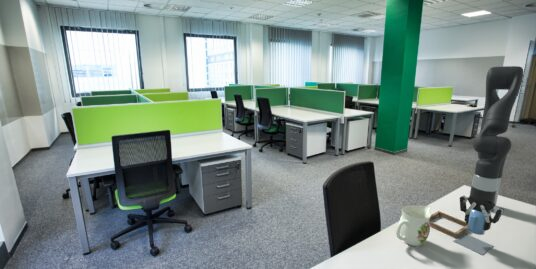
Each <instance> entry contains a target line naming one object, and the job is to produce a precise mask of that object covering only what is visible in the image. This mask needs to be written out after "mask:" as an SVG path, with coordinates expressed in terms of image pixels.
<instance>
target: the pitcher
mask: <svg viewBox="0 0 536 269" xmlns="http://www.w3.org/2000/svg"><path fill="white" fill-rule="evenodd" d="M431 215H432V213H431V206H429V205H406V206H405V205H404V206H402V208H401V216H400V218H399V221H398V222H399V223H398V224H397V226H396V231H395V233H396V234H395V236H396V237H397V239H398V240H400V241H404V243H405V244H407V245H410V246H413V247H420V246H422V245H423V244H424V243H425V242H426V241H427V239H428V237H429V236H430V232H431V227H430V223H429V219H430V217H431Z"/></svg>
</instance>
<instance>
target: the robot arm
mask: <svg viewBox="0 0 536 269" xmlns="http://www.w3.org/2000/svg"><path fill="white" fill-rule="evenodd" d="M485 79H486V80H485V99H484V100H485V102H484V106H483V107H484V108H483V113H482V120H481V130H480V132H479V133H478V135H477V136H476V137H475V139H474V141H473V142H472V143H473V144H472V146H473V149H474V151H475V152H477V158H478V159H477V161H476V163H475V168H474V173H473V174H474V175H473V176H472V181H471V186H470V192H469V196H466V195H462V196H460V197H459V210H460V211H461V212H463V213H464V214H465V216H464V220H463V221H464V222H466V223H467V224H468V221H469V215H470V211H471V209H475V210H478V211H480V212H483V213H484V217H485V220H486V222H485V225H484V230H485V232H486V231H489V230H490V229H491V226H492V224H496V223H498V222H499V220H500V218H501V217H502V215H503V213H504V211H505V210H504V208H502V207H498V206H497V202H498V197H499V192H500V188H501V182H502V178H503V171H504V166H505V163H506V160H507V156H508V154H509V152H510V151H511V148H512V142H511V140H510V138H508V137H507V136H501V135H502V134H505V133H506V132H507V131H508V129H509V124H510V118H511V114H512V110H513V108H514V106H515V102H516V100H517V97H518V96H519V95H518V94H519V92H520V90H521V86H522V84H523V79H524V68H523V67H521V66H516V65H515V66H513V65H512V66H508V65H507V66H505V65H504V66H492V67H490V68H489V69H488V71H487V72H486V77H485ZM497 90H498V91H499V90H501V91H502V90H504V91H505V90H507V92H506V93H505V94H504V95H503V96H502V97H501V98H500V97H499V95H498V92H497ZM499 135H500V136H499ZM467 202H468V203H469V205H470V206H469V207H468V208H467ZM491 211H494V216H493V217H492V212H491ZM487 212H489V213H488V214H487Z"/></svg>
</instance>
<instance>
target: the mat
mask: <svg viewBox="0 0 536 269" xmlns="http://www.w3.org/2000/svg"><path fill="white" fill-rule="evenodd" d="M453 242H454V243H456V244H457V245H459V246H462V247H464V248H467V249H469V250H471V251H472V252H474V253H477V254H479V255H481V256H484V254H486V253H488V251H490V250H491V249H493V247H495V246H494V245H492V244H490V243H489V242H485V241H483V240H481V239H479V238H477V237H474V236H472V235H469V234H467V233H463V234H462V235H460V236H459V237H457V238H455V239H454V240H453Z"/></svg>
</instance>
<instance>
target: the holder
mask: <svg viewBox="0 0 536 269" xmlns="http://www.w3.org/2000/svg"><path fill="white" fill-rule="evenodd" d="M438 217H440V218H444V219H446V220H448V221H451V222H452V223H455V224H457V225H460V226H461V227H462V228H460V229H458V230H457V231H455V232H454V231H452V230H449V229H447V228H445V227H443V226H441V225H438V224H437V223H434V222H432V220H434V219H436V218H438ZM429 223H430V228H432V229H435V230H437V231H438V232H441V233H443V234H445V235H447V236H449V237H452V238H454V239H457V238H459V237H460V236H462V235H463V234H466V232H469V231H468V229H467V226H468V224H467V223H466V221H465V220H462V219H459V218H457V217H454V216H451V215H450V214H446V213H444V212H442V211H440V210H438V211H436V212H434V213H431V217H430V219H429Z"/></svg>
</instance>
